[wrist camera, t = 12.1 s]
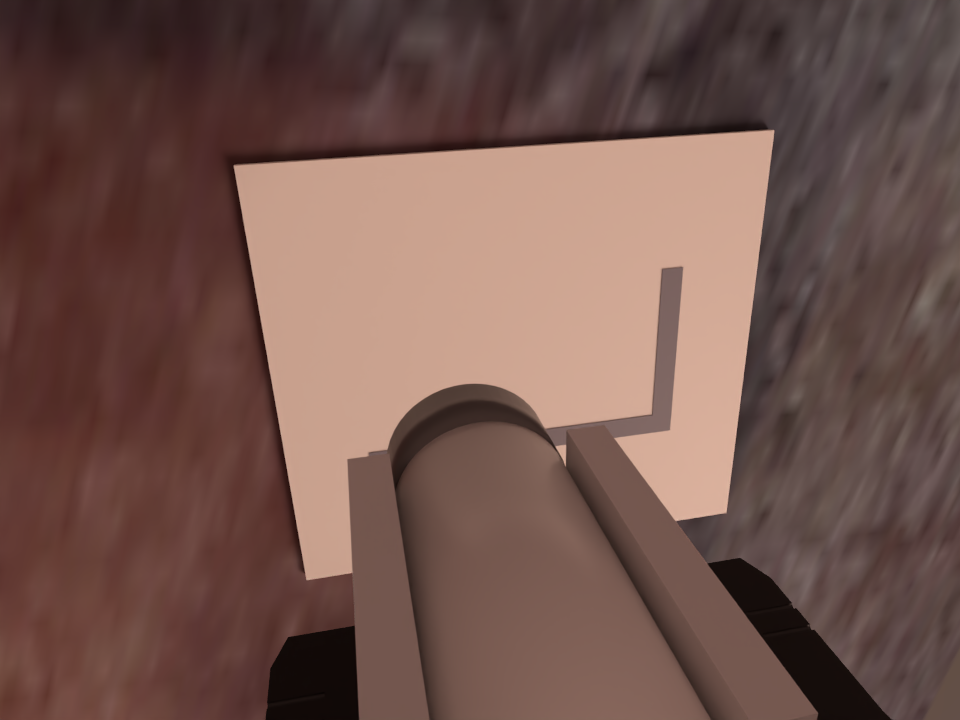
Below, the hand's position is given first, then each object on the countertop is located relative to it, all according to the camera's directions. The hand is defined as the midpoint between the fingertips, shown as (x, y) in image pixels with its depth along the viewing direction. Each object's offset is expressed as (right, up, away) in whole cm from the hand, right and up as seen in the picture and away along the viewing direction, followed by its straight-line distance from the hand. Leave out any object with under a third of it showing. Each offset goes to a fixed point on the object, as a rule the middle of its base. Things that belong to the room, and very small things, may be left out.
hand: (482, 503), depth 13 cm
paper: (+2, +2, +13) cm, 13 cm away
